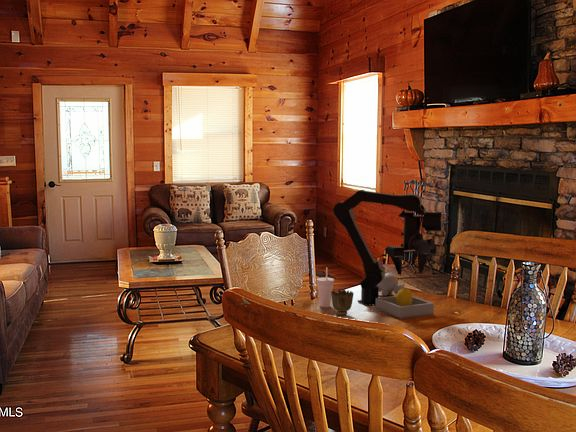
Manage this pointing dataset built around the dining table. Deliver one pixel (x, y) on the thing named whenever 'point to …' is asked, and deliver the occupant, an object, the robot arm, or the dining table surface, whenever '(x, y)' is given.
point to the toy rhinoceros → (389, 285)
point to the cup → (342, 301)
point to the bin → (404, 307)
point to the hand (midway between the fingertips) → (410, 273)
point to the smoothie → (325, 290)
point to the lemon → (404, 297)
